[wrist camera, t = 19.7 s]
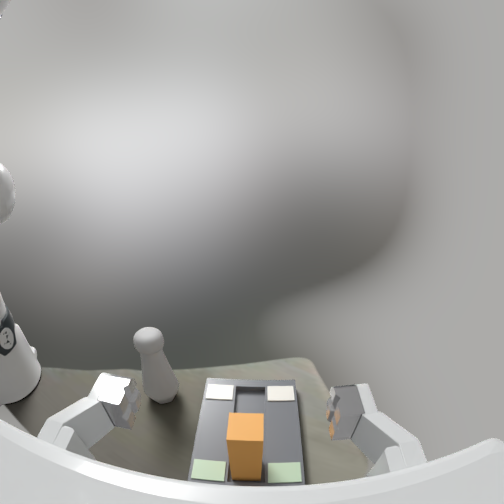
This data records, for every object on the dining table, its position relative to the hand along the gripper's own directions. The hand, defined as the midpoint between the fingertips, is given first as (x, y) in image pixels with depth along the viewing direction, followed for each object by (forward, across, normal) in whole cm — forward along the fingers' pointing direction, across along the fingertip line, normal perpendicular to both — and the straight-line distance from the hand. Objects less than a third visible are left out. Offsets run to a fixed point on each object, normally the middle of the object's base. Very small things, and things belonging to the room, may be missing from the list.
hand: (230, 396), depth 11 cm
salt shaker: (+22, +14, +28) cm, 38 cm away
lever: (+9, 0, +27) cm, 28 cm away
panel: (+15, 0, +28) cm, 32 cm away
